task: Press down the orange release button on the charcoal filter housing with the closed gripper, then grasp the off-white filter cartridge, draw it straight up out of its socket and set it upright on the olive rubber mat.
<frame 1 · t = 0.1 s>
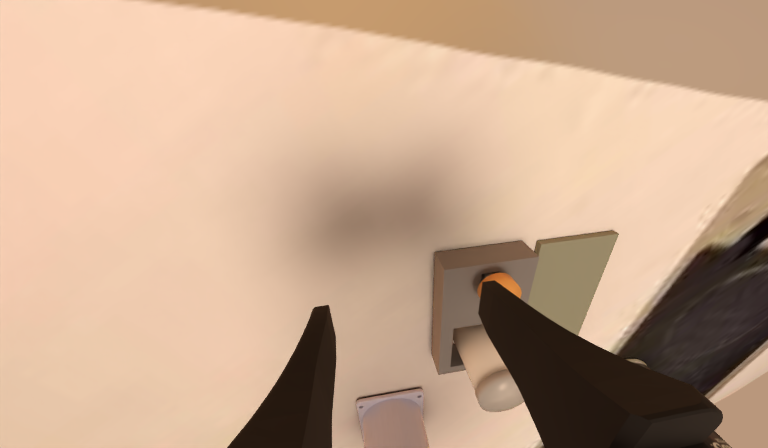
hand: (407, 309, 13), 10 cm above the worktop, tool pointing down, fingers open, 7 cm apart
coffee can: (608, 380, 40), on the worktop
mat: (556, 296, 29), on the worktop
housing: (472, 302, 28), on the worktop
cartridge: (469, 323, 29), resting in housing
release button: (491, 282, 23), point 3 cm above the worktop, slide at 0.0 cm
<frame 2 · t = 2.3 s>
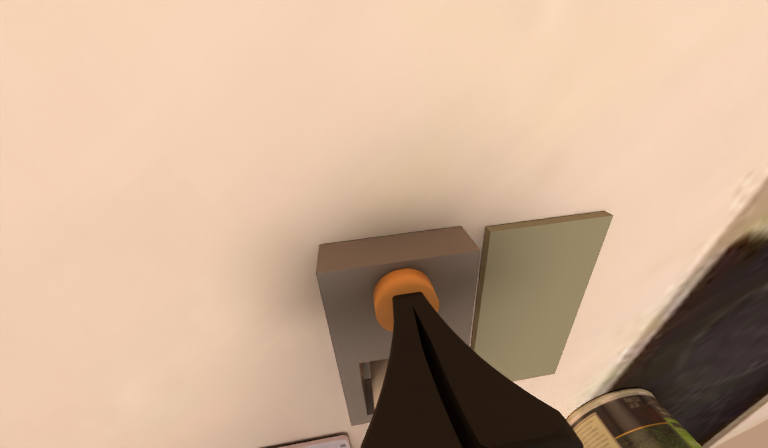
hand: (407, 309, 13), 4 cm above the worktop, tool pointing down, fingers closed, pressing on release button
coffee can: (603, 414, 30), on the worktop
mat: (524, 310, 20), on the worktop
housing: (397, 320, 19), on the worktop
cartridge: (398, 349, 20), resting in housing
release button: (400, 284, 15), point 2 cm above the worktop, slide at 0.7 cm, touching gripper
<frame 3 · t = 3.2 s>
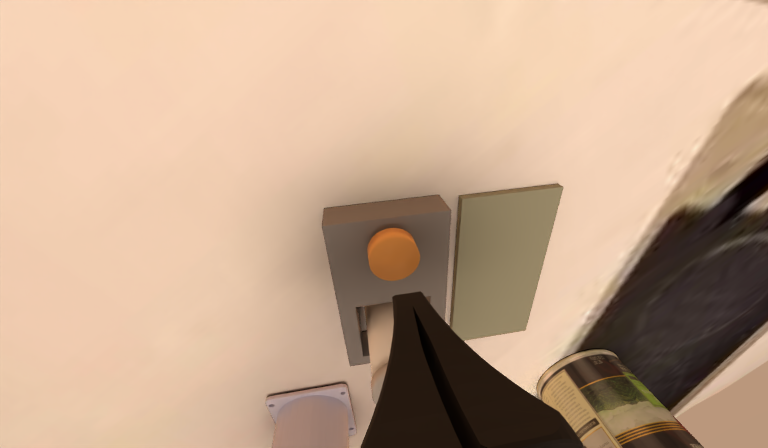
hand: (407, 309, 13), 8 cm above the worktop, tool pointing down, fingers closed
coffee can: (574, 374, 34), on the worktop
mat: (495, 271, 24), on the worktop
housing: (388, 277, 23), on the worktop
cartridge: (390, 304, 24), resting in housing
release button: (389, 243, 18), point 3 cm above the worktop, slide at 0.1 cm
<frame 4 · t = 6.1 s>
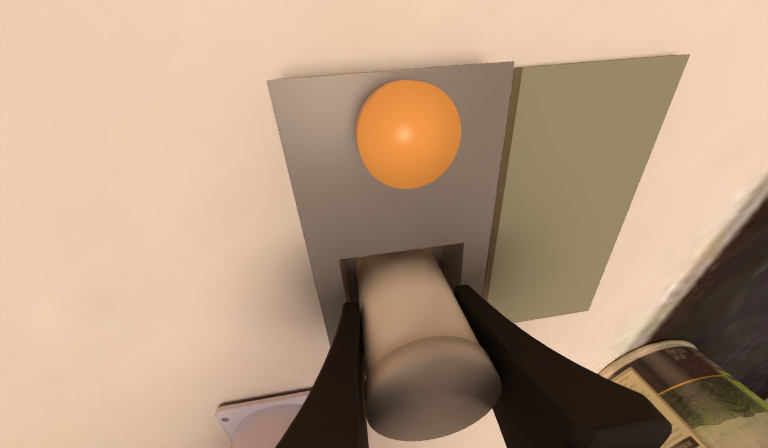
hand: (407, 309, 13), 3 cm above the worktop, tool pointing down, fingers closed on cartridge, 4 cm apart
coffee can: (636, 374, 26), on the worktop
mat: (556, 215, 16), on the worktop
housing: (393, 220, 14), on the worktop
cartridge: (395, 267, 16), resting in housing, touching gripper
release button: (398, 128, 10), point 3 cm above the worktop, slide at 0.1 cm
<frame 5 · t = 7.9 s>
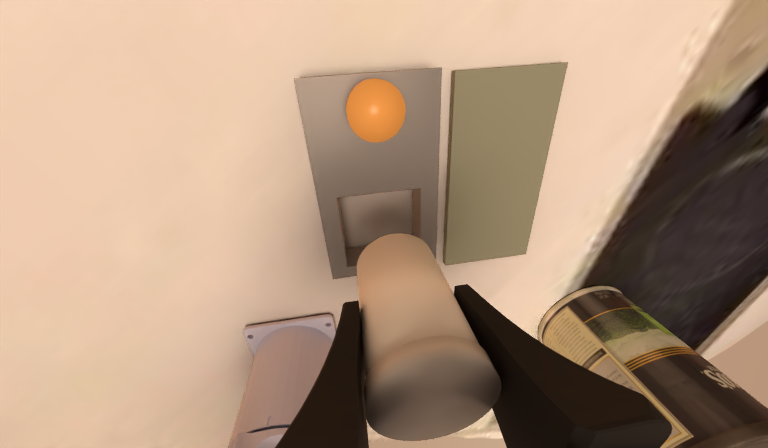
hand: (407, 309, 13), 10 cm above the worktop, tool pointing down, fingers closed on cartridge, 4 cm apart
coffee can: (578, 318, 32), on the worktop
mat: (493, 177, 22), on the worktop
housing: (374, 177, 20), on the worktop
cartridge: (395, 266, 16), point 7 cm above the worktop, touching gripper
release button: (372, 108, 16), point 3 cm above the worktop, slide at 0.1 cm
when the fingers open (5 cm above the worktop, at t = 10.0 s): cartridge drops 1 cm, resting on mat.
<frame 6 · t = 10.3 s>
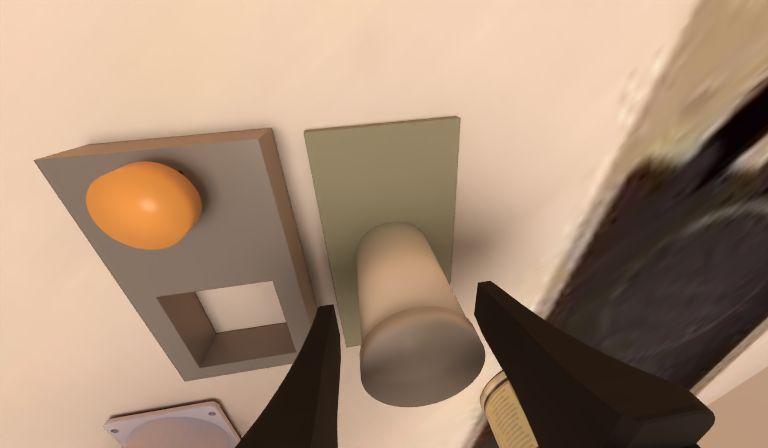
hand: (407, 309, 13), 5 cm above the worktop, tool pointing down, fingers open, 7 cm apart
coffee can: (527, 386, 28), on the worktop
mat: (390, 249, 17), on the worktop
housing: (230, 256, 16), on the worktop
cartridge: (392, 254, 17), point 1 cm above the worktop, touching mat
release button: (166, 193, 11), point 3 cm above the worktop, slide at 0.1 cm
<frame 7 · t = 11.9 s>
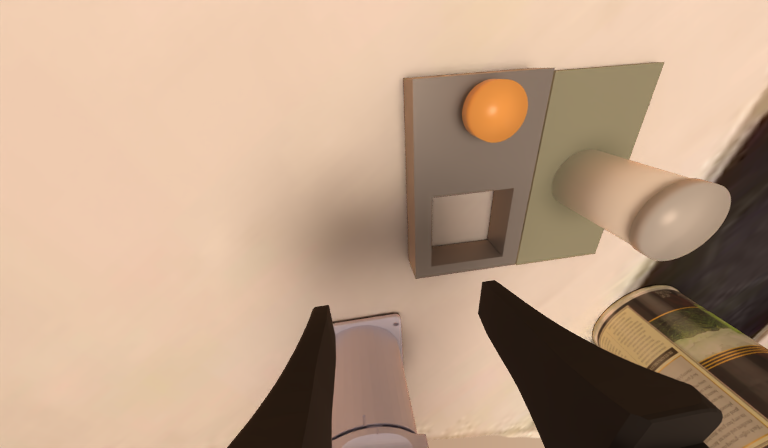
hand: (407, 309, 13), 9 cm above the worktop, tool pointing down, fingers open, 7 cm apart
coffee can: (632, 317, 32), on the worktop
mat: (573, 176, 22), on the worktop
housing: (459, 177, 21), on the worktop
cartridge: (579, 178, 21), point 1 cm above the worktop, touching mat
release button: (483, 108, 16), point 3 cm above the worktop, slide at 0.1 cm
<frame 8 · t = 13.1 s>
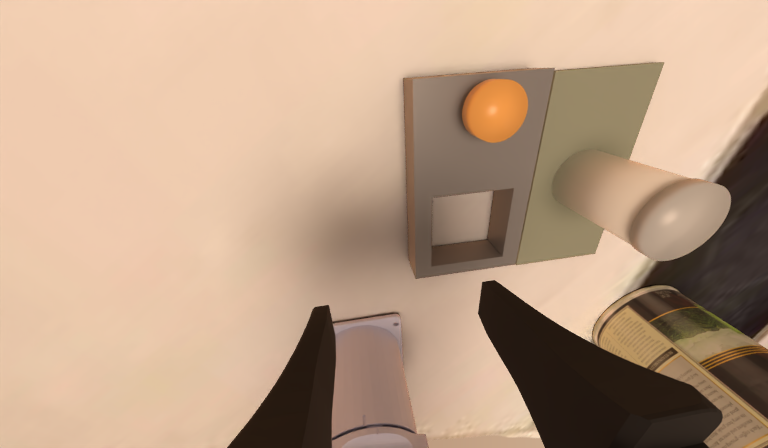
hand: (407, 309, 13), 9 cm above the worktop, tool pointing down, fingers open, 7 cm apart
coffee can: (632, 317, 32), on the worktop
mat: (573, 176, 22), on the worktop
housing: (459, 177, 21), on the worktop
cartridge: (579, 178, 21), point 1 cm above the worktop, touching mat
release button: (483, 108, 16), point 3 cm above the worktop, slide at 0.1 cm
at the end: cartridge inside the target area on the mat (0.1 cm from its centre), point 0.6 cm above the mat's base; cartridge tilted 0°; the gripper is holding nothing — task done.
